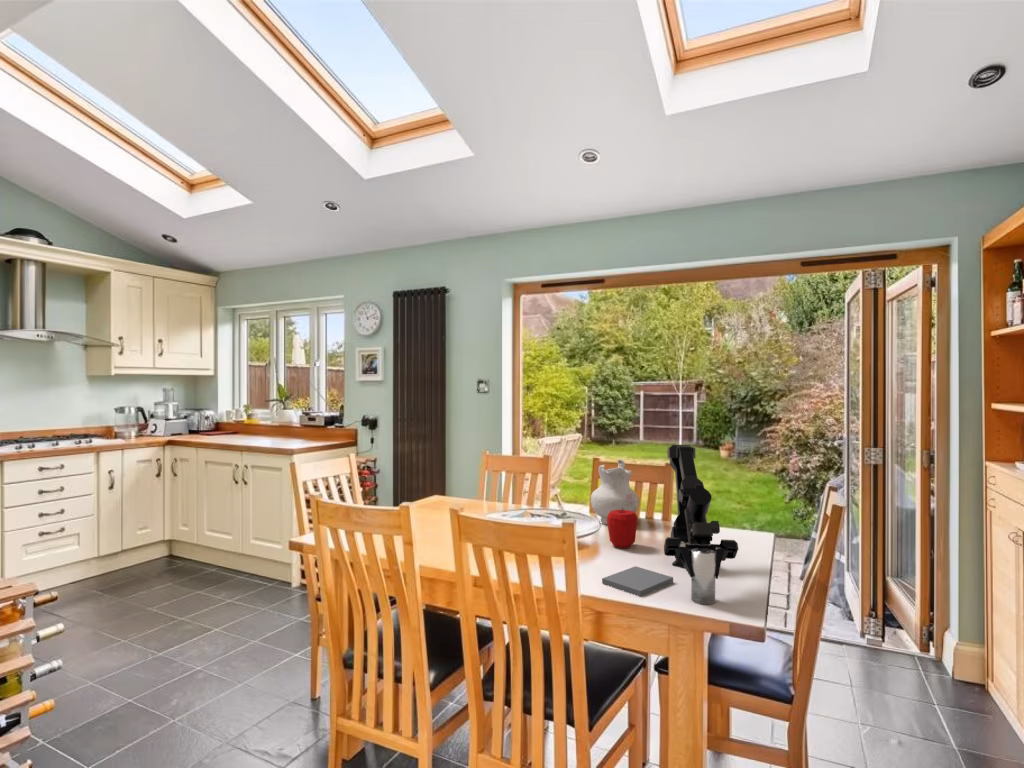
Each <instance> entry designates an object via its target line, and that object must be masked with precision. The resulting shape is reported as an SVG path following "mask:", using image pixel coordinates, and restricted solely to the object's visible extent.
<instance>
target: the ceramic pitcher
mask: <svg viewBox="0 0 1024 768" xmlns="http://www.w3.org/2000/svg"><path fill="white" fill-rule="evenodd" d="M617 462H618V464H617V465H618V466H617V467H612V468H608V469H606V466H605V464H601V465H598V469H597V470H598V475H599V477H600V485H599V487H598V488H596V489H595V490H593V492H592V493H591V495H590V506H591V509H592V510H593V512H594V513H595V514H596V515H597V516H599V517H600V520H601V522H602V524H601V525H604V526H605V525H607V515H608V514H609V512H610V511H612V510H622V508H623V510H630V511H634V512H635V513H636V512H637V510H638V509H639V504H640V497H639V495H638V494H637V493H636V492H635V491H634V490H633V489H632V487H630V478H631V476H632V475H633V471H632V470H631V469H629V470H627V469H626V463H625V461H624V460H623V459H621V458H619V459H618V460H617ZM607 526H608V525H607Z"/></svg>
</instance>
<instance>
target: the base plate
mask: <svg viewBox="0 0 1024 768" xmlns="http://www.w3.org/2000/svg"><path fill="white" fill-rule="evenodd" d="M601 582H602V583H603V585H605V584H606V585H605V586H608V585H609V587H611V586H612V587H611V588H614V587H615V588H614V589H617V588H618V589H617V590H619V589H621V590H620V591H622V590H624V591H623V592H625V591H626V593H628V592H629V594H631V593H632V594H631V595H634V594H635V595H634V596H637V595H638V597H640V596H641V597H642V596H646V595H648V594H650V593H651V592H652V593H653V592H655V591H657V590H660V589H661V587H662V588H664V587H666V586H668V584H669V585H670V583H671V584H674V576H670V575H666V574H663V573H660V572H656V571H653V570H649V569H646V568H642V567H640V566H636V565H635V566H632V567H630V568H627V569H624V570H622V571H619V572H616V573H613V574H610V575H608V576H604V577H602V578H601ZM602 583H601V584H602ZM665 585H666V586H665ZM663 586H664V587H663ZM654 590H655V591H654ZM647 593H648V594H647Z"/></svg>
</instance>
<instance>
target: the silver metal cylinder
mask: <svg viewBox="0 0 1024 768" xmlns="http://www.w3.org/2000/svg"><path fill="white" fill-rule="evenodd" d="M715 565H716V552H715V551H713V550H710V549H705V548H695V549H692V573H693V577H692V578H691V577H690V578H691V584H690V585H691V589H690V590H691V595H690V596H691V597H690V598H691V602H693V603H695V604H698V605H703V606H711V605H714V604H715V603H716V576H715Z"/></svg>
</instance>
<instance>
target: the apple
mask: <svg viewBox="0 0 1024 768" xmlns="http://www.w3.org/2000/svg"><path fill="white" fill-rule="evenodd" d="M638 521H639V520H638V515H637V513H636V512H634V511H630V510H623V508H622V510H612V511H610V512H609V514H608V515H607V531H608V536H609V541H610V542H611V544H612V545H613V546H614V547H615V548H619V549H629V548H631V547H632V546H633V544H634V543H636V535H637V529H638Z"/></svg>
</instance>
